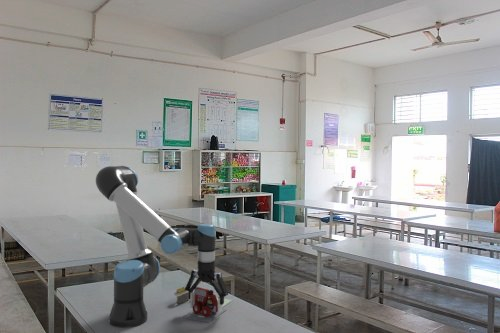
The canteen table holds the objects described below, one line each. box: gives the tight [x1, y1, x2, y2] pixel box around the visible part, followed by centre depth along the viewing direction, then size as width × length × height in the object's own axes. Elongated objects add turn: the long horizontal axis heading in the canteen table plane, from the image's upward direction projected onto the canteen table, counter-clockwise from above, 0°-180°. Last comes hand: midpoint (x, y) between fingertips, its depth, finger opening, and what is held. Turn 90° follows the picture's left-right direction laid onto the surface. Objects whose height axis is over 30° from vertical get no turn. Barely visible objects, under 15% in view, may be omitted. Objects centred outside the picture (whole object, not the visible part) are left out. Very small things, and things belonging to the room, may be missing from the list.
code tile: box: [183, 308, 227, 324], centre depth 176 cm, size 16×12×1 cm
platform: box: [173, 286, 190, 305], centre depth 191 cm, size 12×18×7 cm, turn 150°
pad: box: [216, 297, 233, 309], centre depth 190 cm, size 10×10×1 cm
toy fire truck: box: [192, 286, 218, 317], centre depth 176 cm, size 7×12×10 cm, turn 57°
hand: (206, 309), depth 176 cm, fingers open, 13 cm apart
